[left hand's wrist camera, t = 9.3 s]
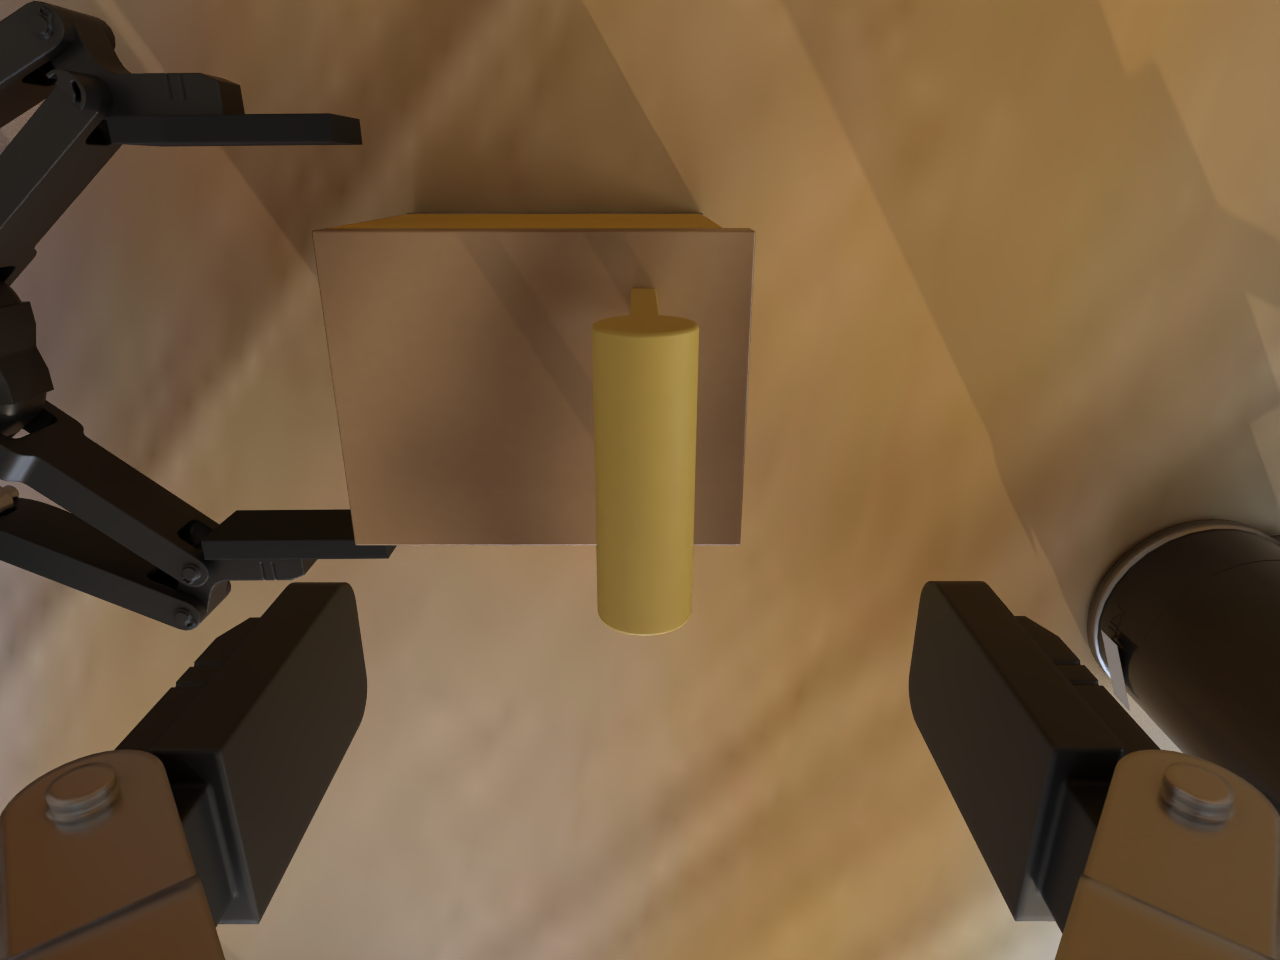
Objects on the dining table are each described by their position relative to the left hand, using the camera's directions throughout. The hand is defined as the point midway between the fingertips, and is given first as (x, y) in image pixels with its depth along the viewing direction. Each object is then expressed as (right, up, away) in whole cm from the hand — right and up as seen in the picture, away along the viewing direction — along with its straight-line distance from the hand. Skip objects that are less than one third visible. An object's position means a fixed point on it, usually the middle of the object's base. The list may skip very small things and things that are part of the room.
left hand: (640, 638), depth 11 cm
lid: (-3, +5, +13) cm, 14 cm away
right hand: (-9, +7, +16) cm, 19 cm away
